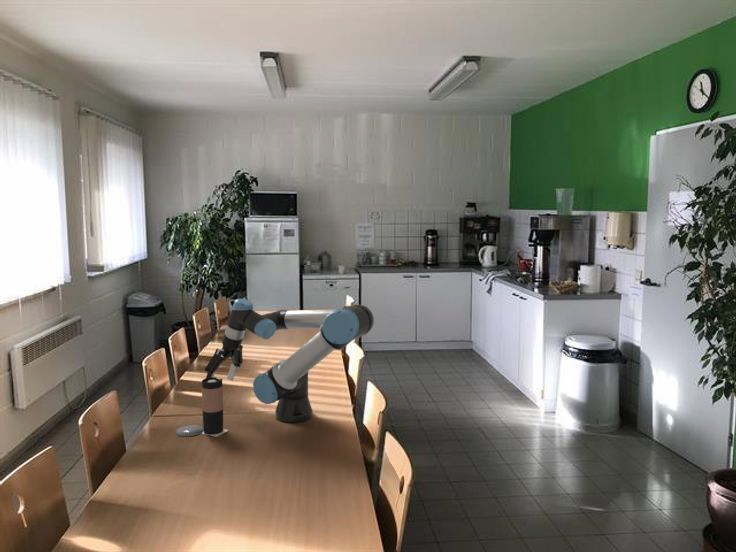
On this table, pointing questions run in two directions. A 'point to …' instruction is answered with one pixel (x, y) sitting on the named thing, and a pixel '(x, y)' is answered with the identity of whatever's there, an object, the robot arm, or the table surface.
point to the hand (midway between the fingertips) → (218, 383)
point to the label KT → (218, 433)
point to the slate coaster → (189, 430)
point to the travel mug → (212, 405)
